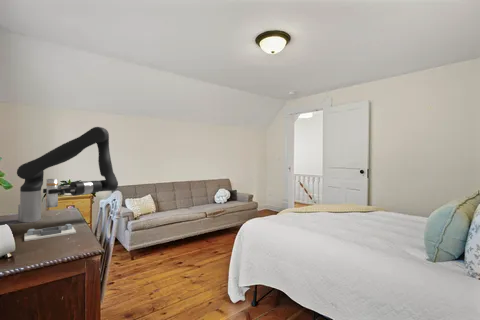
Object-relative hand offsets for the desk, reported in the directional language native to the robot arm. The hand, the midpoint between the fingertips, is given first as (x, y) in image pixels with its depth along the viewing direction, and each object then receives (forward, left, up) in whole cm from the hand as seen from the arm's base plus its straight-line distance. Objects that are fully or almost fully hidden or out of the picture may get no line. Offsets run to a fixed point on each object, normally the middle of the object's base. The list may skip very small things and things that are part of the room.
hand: (46, 191), depth 122 cm
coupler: (+1, +3, -8) cm, 8 cm away
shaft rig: (+7, -4, -20) cm, 21 cm away
